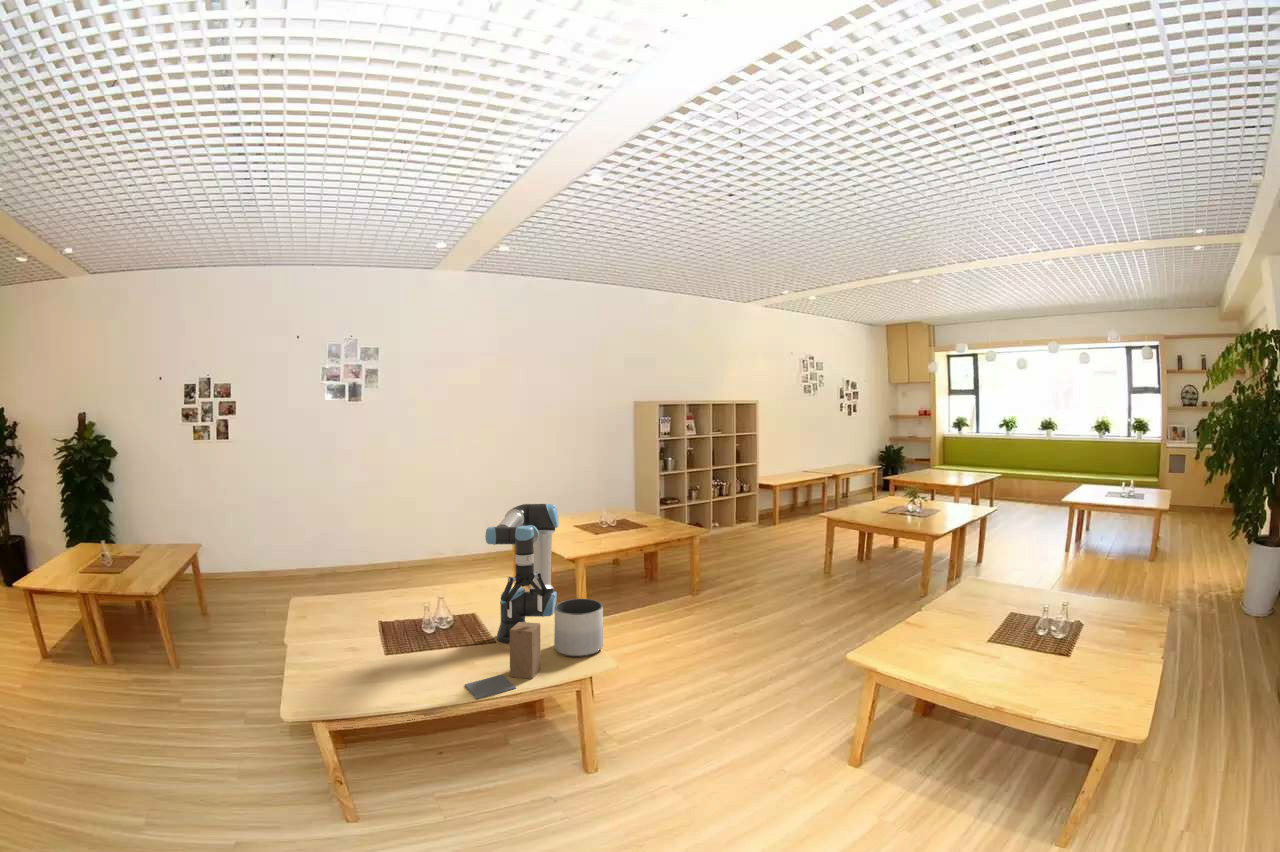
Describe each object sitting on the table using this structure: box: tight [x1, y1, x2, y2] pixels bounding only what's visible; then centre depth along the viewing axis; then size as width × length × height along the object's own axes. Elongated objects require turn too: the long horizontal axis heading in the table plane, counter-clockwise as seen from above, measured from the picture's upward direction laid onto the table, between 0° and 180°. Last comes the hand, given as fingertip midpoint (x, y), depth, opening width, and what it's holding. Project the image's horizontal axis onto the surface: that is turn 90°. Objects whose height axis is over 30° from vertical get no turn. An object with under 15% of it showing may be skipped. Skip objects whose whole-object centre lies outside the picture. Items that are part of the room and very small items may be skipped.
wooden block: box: [509, 621, 542, 680], centre depth 258 cm, size 10×10×20 cm
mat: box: [464, 674, 516, 701], centre depth 245 cm, size 14×16×1 cm
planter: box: [553, 598, 604, 658], centre depth 283 cm, size 23×23×20 cm
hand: (524, 613), depth 257 cm, fingers open, 13 cm apart
